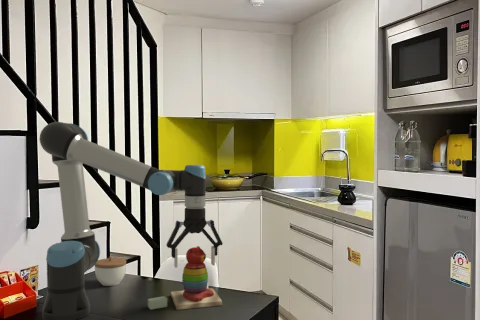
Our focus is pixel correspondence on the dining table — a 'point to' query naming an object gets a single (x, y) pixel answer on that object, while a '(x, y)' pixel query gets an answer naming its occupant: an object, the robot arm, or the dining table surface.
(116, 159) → the robot arm
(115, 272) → the lidded bowl
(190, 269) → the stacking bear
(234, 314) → the dining table surface
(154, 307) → the sage brick
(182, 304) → the birch board
